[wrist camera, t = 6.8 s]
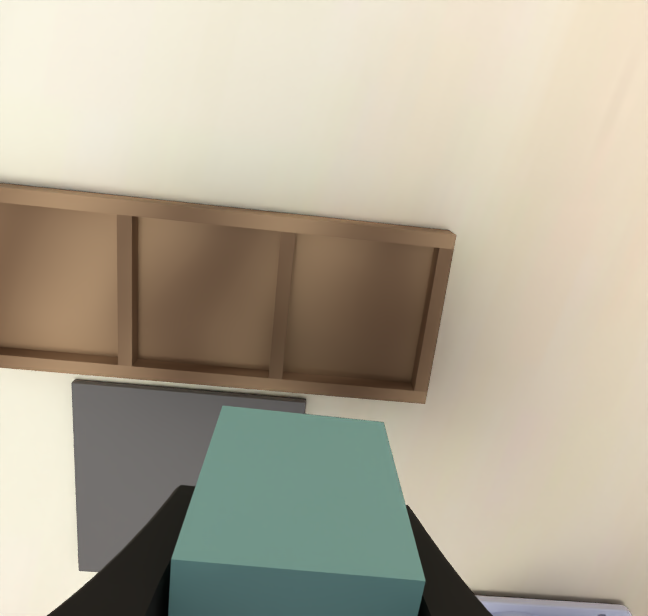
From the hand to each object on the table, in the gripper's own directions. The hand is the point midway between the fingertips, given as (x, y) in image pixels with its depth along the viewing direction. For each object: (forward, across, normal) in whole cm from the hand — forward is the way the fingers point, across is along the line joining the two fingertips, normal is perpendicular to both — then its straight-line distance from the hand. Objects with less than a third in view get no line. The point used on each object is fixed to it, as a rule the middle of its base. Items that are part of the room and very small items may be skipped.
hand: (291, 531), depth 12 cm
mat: (+9, +4, +6) cm, 11 cm away
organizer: (+9, +4, -3) cm, 10 cm away
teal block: (+2, 0, 0) cm, 2 cm away
